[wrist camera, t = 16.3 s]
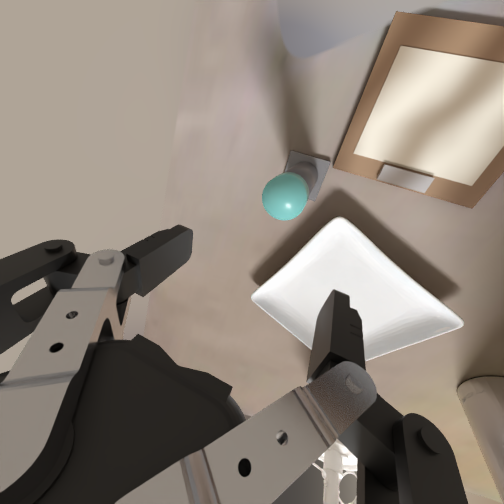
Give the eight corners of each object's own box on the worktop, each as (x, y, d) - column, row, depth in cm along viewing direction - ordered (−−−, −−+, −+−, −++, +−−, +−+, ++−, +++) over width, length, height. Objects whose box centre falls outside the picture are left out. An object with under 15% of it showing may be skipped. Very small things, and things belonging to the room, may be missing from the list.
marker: (323, 165, 26) (312, 184, 17) (312, 195, 28) (296, 226, 19) (293, 156, 26) (268, 170, 18) (285, 186, 29) (257, 212, 20)
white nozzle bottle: (336, 367, 42) (330, 516, 26) (371, 396, 42) (387, 561, 26) (300, 380, 48) (278, 507, 32) (331, 405, 49) (324, 544, 32)
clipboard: (605, 44, 16) (621, 39, 15) (469, 206, 23) (474, 210, 22) (394, 14, 19) (397, 8, 18) (332, 167, 26) (332, 168, 25)
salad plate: (253, 287, 40) (246, 299, 38) (339, 205, 28) (338, 213, 25) (337, 357, 41) (337, 373, 38) (458, 306, 29) (470, 325, 26)
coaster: (330, 161, 26) (330, 162, 25) (315, 200, 28) (315, 201, 28) (291, 150, 27) (290, 150, 26) (280, 189, 29) (279, 189, 29)
